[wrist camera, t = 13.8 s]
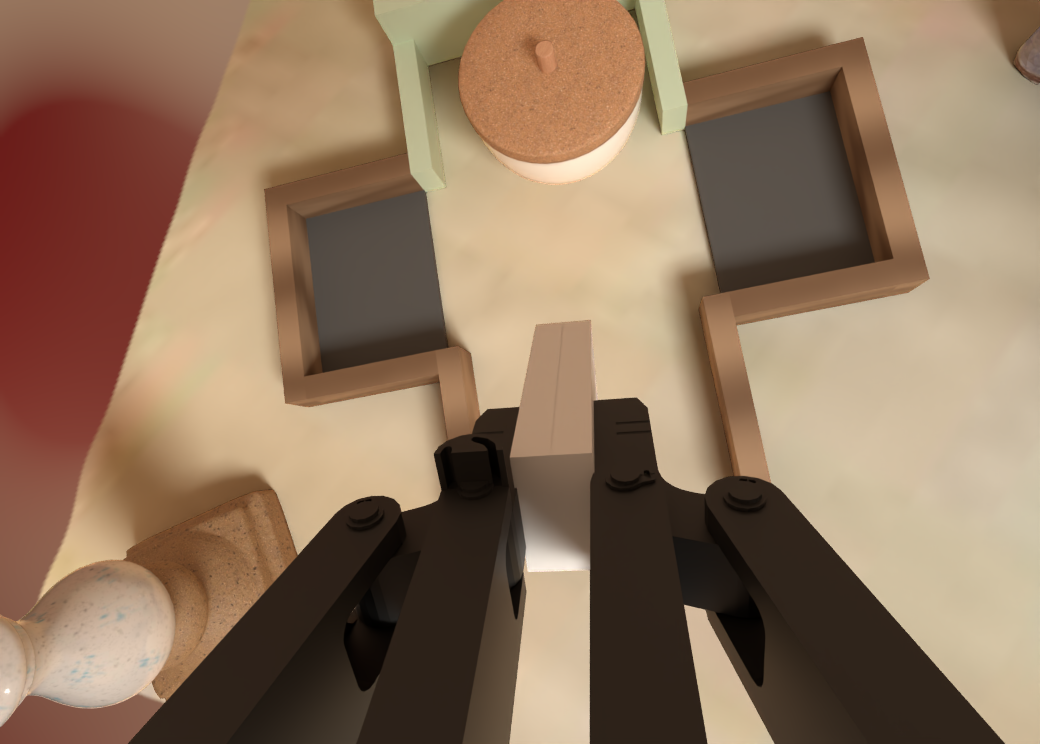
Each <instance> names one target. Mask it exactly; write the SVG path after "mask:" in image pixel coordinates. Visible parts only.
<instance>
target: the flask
mask: <svg viewBox="0 0 1040 744" xmlns="http://www.w3.org/2000/svg"><path fill="white" fill-rule="evenodd" d="M1013 64H1014V65H1015V66H1016V67H1017V69H1018V70H1019V71H1020V72H1021V73H1022V75H1023V76H1024V77H1026V78H1028V80H1030V81H1031V82H1032V83H1034V84H1036V85H1038V84H1039V83H1040V27H1039V28H1038V29H1037V30H1036V31H1035V32H1034V33H1033V35H1032V36H1031V37H1030V38H1029V39H1028V40H1027V41H1026V42H1025V43H1024V44H1023V45H1022V46H1021V47H1020V48H1019V50H1018V52H1017V55H1016V57H1015V60H1014V62H1013Z"/></svg>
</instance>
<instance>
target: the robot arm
mask: <svg viewBox="0 0 1040 744" xmlns="http://www.w3.org/2000/svg"><path fill="white" fill-rule="evenodd" d="M434 458H435V462H436V467H437V472H438V476H439V481H440V485H441V493H440V496H439V499H438V501H436V502H434V503H432V504H429V505H426V506H423V507H419V508H416V509H412V510H408V511H404V512H401V508H400V505H399V504H398V503H397V502H396V501H395V500H394V499H392V498H389V497H385V496H370V497H365V498H361V499H358V500H356V501H354V502H352V503H350V504H348V505H346V506H344V507H343V508H342V509H341V510H339V511H338V512H337V513H336V514H335V515H334V516H333V517H332V518H331V519H330V520H329V521H328V523H327V524H326V525H325V526H324V527H323V528H322V529H321V530H320V531H319V533H318V534H317V535H316V536H315V537H314V538H313V539H312V540H311V541H310V543H309V544H308V545H307V546H306V547H305V548H304V549H303V550H302V551H301V553H300V554H299V555H298V556H297V557H296V558H295V559H294V560H293V561H292V562H291V564H290V565H289V566H288V567H287V568H286V569H285V570H284V571H283V572H282V574H281V575H280V576H279V577H278V578H277V579H276V580H275V581H274V582H273V584H272V585H271V586H270V587H269V588H268V589H267V590H266V591H265V592H264V593H263V595H262V596H261V597H260V598H259V599H258V600H257V601H256V602H255V603H254V605H253V606H252V607H251V608H250V609H249V610H248V611H247V612H246V613H245V615H244V616H243V617H242V618H241V619H240V620H239V621H238V622H237V623H236V624H235V626H234V627H233V628H232V629H231V630H230V631H229V632H228V633H227V634H226V636H225V637H224V638H223V639H222V640H221V641H220V642H219V643H218V644H217V646H216V647H215V648H214V649H213V650H212V651H211V652H210V653H209V654H208V656H207V657H206V658H205V659H204V660H203V661H202V662H201V663H200V664H199V665H198V667H197V668H196V669H195V670H194V671H193V672H192V673H191V674H190V675H189V677H188V678H187V679H186V680H185V681H184V682H183V683H182V684H181V685H180V687H179V688H178V689H177V690H176V691H175V692H174V693H173V694H172V695H171V696H170V698H169V699H168V700H167V701H166V702H165V703H164V704H163V705H162V707H161V708H160V709H159V710H158V711H157V712H156V713H155V714H154V715H153V717H152V718H151V719H150V720H149V721H148V722H147V723H146V724H145V725H144V726H143V728H142V729H141V730H140V731H139V732H138V733H137V734H136V735H135V736H134V737H133V739H132V740H131V741H130V742H129V743H128V744H509V740H510V731H511V723H512V714H513V705H514V696H515V687H516V679H517V670H518V661H519V652H520V643H521V634H522V626H523V617H524V608H525V599H526V586H525V580H524V573H523V569H524V561H525V556H526V562H527V569H528V572H543V571H575V570H590V744H707V738H706V732H705V726H704V720H703V715H702V709H701V703H700V697H699V691H698V685H697V679H696V673H695V667H694V662H693V656H692V650H691V644H690V638H689V632H688V626H687V620H686V615H685V609H684V605H688V606H692V607H697V608H701V609H705V610H706V613H707V617H708V620H709V622H710V624H711V626H712V628H713V629H714V631H715V633H716V635H717V637H718V639H719V641H720V642H721V644H722V646H723V648H724V650H725V652H726V654H727V656H728V657H729V659H730V661H731V663H732V665H733V667H734V669H735V670H736V672H737V674H738V676H739V678H740V680H741V682H742V684H743V685H744V687H745V689H746V691H747V693H748V695H749V697H750V699H751V700H752V702H753V704H754V706H755V708H756V710H757V712H758V713H759V715H760V717H761V719H762V721H763V723H764V725H765V727H766V728H767V730H768V732H769V734H770V736H771V738H772V740H773V741H774V743H775V744H1005V743H1004V742H1003V741H1002V740H1001V739H1000V737H999V736H998V735H997V734H996V733H995V732H994V731H993V729H992V728H991V727H990V726H989V725H988V724H987V723H986V722H985V720H984V719H983V718H982V717H981V716H980V715H979V714H978V713H977V711H976V710H975V709H974V708H973V707H972V706H971V705H970V703H969V702H968V701H967V700H966V699H965V698H964V697H963V696H962V694H961V693H960V692H959V691H958V690H957V689H956V688H955V686H954V685H953V684H952V683H951V682H950V681H949V680H948V679H947V677H946V676H945V675H944V674H943V673H942V672H941V671H940V670H939V668H938V667H937V666H936V665H935V664H934V663H933V662H932V660H931V659H930V658H929V657H928V656H927V655H926V654H925V653H924V651H923V650H922V649H921V648H920V647H919V646H918V645H917V643H916V642H915V641H914V640H913V639H912V638H911V637H910V636H909V634H908V633H907V632H906V631H905V630H904V629H903V628H902V627H901V625H900V624H899V623H898V622H897V621H896V620H895V619H894V617H893V616H892V615H891V614H890V613H889V612H888V611H887V610H886V608H885V607H884V606H883V605H882V604H881V603H880V602H879V600H878V599H877V598H876V597H875V596H874V595H873V594H872V593H871V591H870V590H869V589H868V588H867V587H866V586H865V585H864V584H863V582H862V581H861V580H860V579H859V578H858V577H857V576H856V574H855V573H854V572H853V571H852V570H851V569H850V568H849V567H848V565H847V564H846V563H845V562H844V561H843V560H842V559H841V557H840V556H839V555H838V554H837V553H836V552H835V551H834V550H833V548H832V547H831V546H830V545H829V544H828V543H827V542H826V541H825V539H824V538H823V537H822V536H821V535H820V534H819V533H818V531H817V530H816V529H815V528H814V527H813V526H812V525H811V524H810V522H809V521H808V520H807V519H806V518H805V517H804V516H803V514H802V513H801V512H800V511H799V510H798V509H797V508H796V507H795V505H794V504H793V503H792V502H791V501H790V500H789V499H788V498H787V496H786V495H785V494H784V493H783V492H782V491H781V490H780V489H779V488H777V487H776V486H775V485H773V484H772V483H770V482H767V481H765V480H762V479H760V478H755V477H748V476H732V477H726V478H723V479H720V480H717V481H715V482H714V483H713V484H712V485H710V486H709V487H708V488H707V491H706V494H700V493H693V492H689V491H685V490H681V489H679V488H676V487H674V486H672V485H671V484H669V483H668V482H666V481H665V480H664V479H663V478H662V477H661V475H660V473H659V471H658V467H657V461H656V455H655V449H654V443H653V437H652V433H651V426H650V420H649V414H648V408H647V407H646V406H645V405H644V404H643V403H642V402H641V401H640V400H639V399H638V398H623V399H608V400H598V396H597V385H596V373H595V362H594V350H593V339H592V328H591V320H585V321H574V322H562V323H550V324H539V325H536V327H535V332H534V337H533V342H532V347H531V352H530V357H529V363H528V368H527V373H526V378H525V383H524V388H523V393H522V398H521V403H520V407H514V408H499V409H487V410H486V411H485V412H484V413H483V414H482V415H481V416H480V417H479V418H478V419H477V420H476V422H475V425H474V428H473V431H472V434H467V435H461V436H458V437H455V438H453V439H450V440H448V441H446V442H445V443H443V444H442V445H441V446H439V447H438V449H437V450H436V451H435V453H434ZM354 608H355V609H354ZM352 611H353V612H352Z"/></svg>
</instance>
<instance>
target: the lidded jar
mask: <svg viewBox="0 0 1040 744" xmlns="http://www.w3.org/2000/svg"><path fill="white" fill-rule="evenodd" d="M644 73H645V53H644V45H643V41H642V37H641V34H640V31H639V29H638V27H637V25H636V22H635V21H634V19H633V18H632V17H631V15H630V14H629V12H628V11H627V10H626V9H625V8H624V7H623V6H622V5H621V4H620V3H619V2H618V1H617V0H503V1H502V2H500V3H499V4H498V5H497V6H495V7H494V8H493V9H492V10H491V11H489V12H488V13H487V15H486V16H485V17H484V18H483V19H482V20H481V21H480V23H479V24H478V25H477V27H476V28H475V30H474V31H473V32H472V34H471V36H470V38H469V40H468V42H467V44H466V46H465V48H464V51H463V54H462V58H461V61H460V67H459V74H458V86H459V93H460V99H461V102H462V105H463V108H464V111H465V113H466V115H467V117H468V119H469V121H470V122H471V124H472V126H473V128H474V129H475V131H476V132H477V133H478V134H479V135H480V137H481V139H482V140H483V142H484V144H485V145H486V147H487V148H488V149H489V150H490V151H491V152H492V154H493V155H494V156H495V157H496V158H497V159H498V161H500V162H501V163H502V164H503V165H504V166H506V167H507V168H508V169H509V170H511V171H512V172H514V173H515V174H517V175H519V176H521V177H523V178H525V179H528V180H530V181H534V182H538V183H543V184H553V185H560V184H569V183H573V182H577V181H581V180H583V179H585V178H588V177H590V176H592V175H594V174H595V173H597V172H599V171H600V170H602V169H603V168H604V167H605V166H607V165H608V164H609V163H610V162H611V161H612V160H613V159H614V158H615V157H616V156H617V155H618V154H619V153H620V152H621V150H622V149H623V147H624V146H625V144H626V143H627V141H628V139H629V137H630V135H631V133H632V131H633V128H634V126H635V124H636V120H637V117H638V113H639V110H640V105H641V98H642V89H643V82H644Z"/></svg>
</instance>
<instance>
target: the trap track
mask: <svg viewBox="0 0 1040 744" xmlns="http://www.w3.org/2000/svg"><path fill="white" fill-rule="evenodd" d="M502 1H503V0H373V6H374V13H375V17H376V18H377V20H378V22H379V23H380V25H381V27H382V28H383V30H384V32H385V33H386V35H387V37H388V38H389V40H390V41H391V43H392V45H393V50H394V57H395V64H396V71H397V79H398V86H399V93H400V100H401V107H402V115H403V122H404V129H405V136H406V143H407V151H408V153H405V154H402V155H398V156H394V157H390V158H386V159H382V160H378V161H374V162H370V163H366V164H362V165H358V166H354V167H351V168H347V169H343V170H339V171H335V172H331V173H327V174H323V175H319V176H315V177H311V178H307V179H303V180H300V181H296V182H292V183H288V184H284V185H280V186H276V187H272V188H268V189H264V191H265V201H266V211H267V222H268V232H269V242H270V252H271V262H272V273H273V283H274V293H275V303H276V314H277V324H278V334H279V344H280V355H281V365H282V375H283V385H284V396H285V403H286V404H292V405H298V406H305V407H312V406H317V405H323V404H328V403H333V402H338V401H344V400H349V399H354V398H359V397H365V396H370V395H375V394H380V393H386V392H391V391H396V390H401V389H406V388H412V387H417V386H422V385H427V384H433V383H438V382H440V388H441V395H442V402H443V410H444V417H445V424H446V431H447V438H448V440H450V439H453V438H455V437H458V436H461V435H467V434H472V431H473V428H474V425H475V422H476V420H477V419H478V418H479V417H480V412H479V405H478V399H477V392H476V385H475V378H474V372H473V365H472V358H471V353H469V352H467V351H466V350H464V349H462V348H461V347H459V346H455V347H450V348H448V344H447V337H446V330H445V323H444V316H443V309H442V302H441V295H440V288H439V281H438V274H437V267H436V260H435V253H434V246H433V239H432V232H431V225H430V218H429V211H428V204H427V197H426V192H429V191H433V190H438V189H442V188H446V183H445V176H444V169H443V163H442V156H441V149H440V142H439V136H438V129H437V122H436V116H435V109H434V102H433V95H432V89H431V82H430V75H429V68H428V66H429V65H433V64H437V63H440V62H444V61H448V60H451V59H455V58H458V57H462V54H463V51H464V48H465V46H466V44H467V42H468V40H469V38H470V36H471V34H472V32H473V31H474V30H475V28H476V27H477V25H478V24H479V23H480V21H481V20H482V19H483V18H484V17H485V16H486V15H487V13H488V12H489V11H491V10H492V9H493V8H494V7H495V6H497V5H498V4H499V3H500V2H502ZM617 1H618V2H619V3H620V4H621V5H622V6H623V7H624V8H625V9H626V10H627V11H628V10H632V9H635V11H636V15H637V20H638V25H639V29H640V34H641V37H642V41H643V45H644V53H645V58H646V63H647V67H648V72H649V77H650V81H651V86H652V91H653V96H654V100H655V105H656V110H657V115H658V119H659V124H660V129H661V133H662V135H664V134H668V133H672V132H676V131H680V130H685V133H686V137H687V142H688V146H689V151H690V156H691V160H692V165H693V169H694V174H695V179H696V183H697V188H698V192H699V197H700V201H701V206H702V211H703V215H704V220H705V224H706V229H707V233H708V238H709V243H710V247H711V252H712V256H713V261H714V265H715V270H716V275H717V279H718V284H719V288H720V294H715V295H710V296H705V297H702V300H701V303H700V306H699V313H700V318H701V322H702V327H703V332H704V337H705V341H706V346H707V351H708V356H709V360H710V365H711V370H712V374H713V379H714V384H715V389H716V393H717V398H718V403H719V408H720V412H721V417H722V422H723V426H724V431H725V436H726V441H727V445H728V450H729V455H730V460H731V464H732V469H733V474H734V476H748V477H755V478H760V479H762V480H765V481H767V482H770V483H771V480H770V476H769V471H768V467H767V462H766V458H765V453H764V449H763V444H762V440H761V435H760V431H759V426H758V422H757V417H756V412H755V408H754V403H753V399H752V394H751V390H750V385H749V381H748V376H747V372H746V367H745V363H744V358H743V354H742V349H741V345H740V340H739V335H738V331H737V326H736V325H741V324H747V323H752V322H757V321H762V320H767V319H773V318H778V317H783V316H788V315H794V314H799V313H804V312H809V311H815V310H820V309H825V308H830V307H835V306H841V305H846V304H851V303H856V302H862V301H867V300H872V299H877V298H883V297H888V296H893V295H898V294H904V293H908V292H910V291H911V290H913V289H914V288H916V287H918V286H919V285H921V284H922V283H924V282H925V281H927V280H928V279H930V278H929V275H928V271H927V267H926V264H925V260H924V257H923V253H922V249H921V246H920V242H919V238H918V235H917V231H916V228H915V224H914V220H913V217H912V213H911V209H910V206H909V202H908V199H907V195H906V191H905V188H904V184H903V181H902V177H901V173H900V170H899V166H898V162H897V159H896V155H895V152H894V148H893V144H892V141H891V137H890V133H889V130H888V126H887V123H886V119H885V115H884V112H883V108H882V104H881V101H880V97H879V94H878V90H877V86H876V83H875V79H874V76H873V72H872V68H871V65H870V61H869V57H868V54H867V50H866V47H865V43H864V39H863V37H861V38H857V39H853V40H849V41H845V42H841V43H837V44H833V45H829V46H825V47H821V48H817V49H814V50H810V51H806V52H802V53H798V54H794V55H790V56H786V57H782V58H778V59H774V60H770V61H766V62H763V63H759V64H755V65H751V66H747V67H743V68H739V69H735V70H731V71H727V72H723V73H719V74H715V75H712V76H708V77H704V78H700V79H696V80H692V81H688V82H684V83H683V82H682V77H681V73H680V68H679V64H678V59H677V55H676V50H675V46H674V41H673V37H672V32H671V27H670V23H669V18H668V14H667V9H666V5H665V0H617Z"/></svg>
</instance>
